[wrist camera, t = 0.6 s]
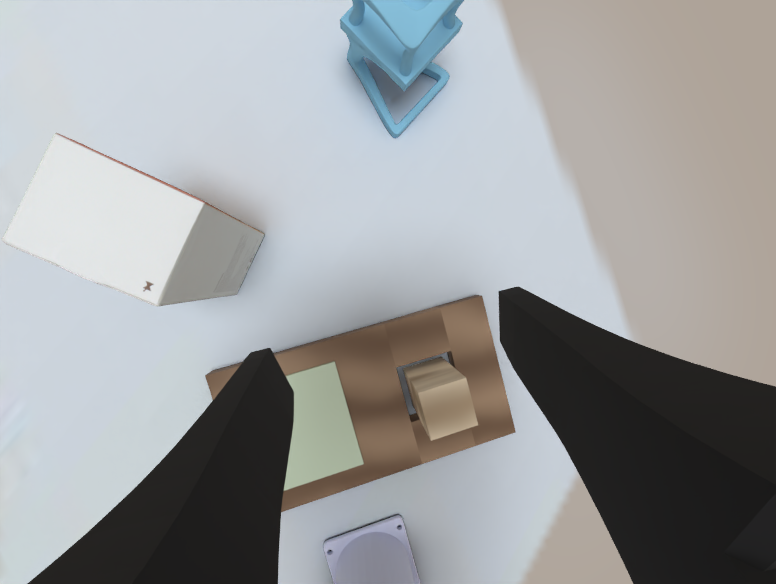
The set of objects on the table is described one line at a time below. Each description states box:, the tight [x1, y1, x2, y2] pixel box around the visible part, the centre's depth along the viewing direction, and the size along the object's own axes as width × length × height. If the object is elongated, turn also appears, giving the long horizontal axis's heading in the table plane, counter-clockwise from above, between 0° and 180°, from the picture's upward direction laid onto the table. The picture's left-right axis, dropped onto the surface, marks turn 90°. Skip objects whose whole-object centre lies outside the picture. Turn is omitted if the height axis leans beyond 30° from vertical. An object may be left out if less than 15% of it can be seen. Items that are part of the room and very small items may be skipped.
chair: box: [340, 0, 464, 138], centre depth 25 cm, size 8×8×12 cm
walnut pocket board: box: [205, 295, 515, 512], centre depth 32 cm, size 14×26×2 cm, turn 105°
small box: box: [2, 133, 264, 306], centre depth 23 cm, size 8×6×13 cm
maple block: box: [403, 357, 478, 441], centre depth 30 cm, size 4×4×7 cm
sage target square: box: [284, 361, 364, 491], centre depth 30 cm, size 10×10×1 cm
